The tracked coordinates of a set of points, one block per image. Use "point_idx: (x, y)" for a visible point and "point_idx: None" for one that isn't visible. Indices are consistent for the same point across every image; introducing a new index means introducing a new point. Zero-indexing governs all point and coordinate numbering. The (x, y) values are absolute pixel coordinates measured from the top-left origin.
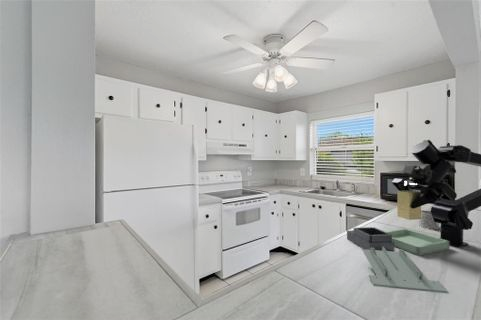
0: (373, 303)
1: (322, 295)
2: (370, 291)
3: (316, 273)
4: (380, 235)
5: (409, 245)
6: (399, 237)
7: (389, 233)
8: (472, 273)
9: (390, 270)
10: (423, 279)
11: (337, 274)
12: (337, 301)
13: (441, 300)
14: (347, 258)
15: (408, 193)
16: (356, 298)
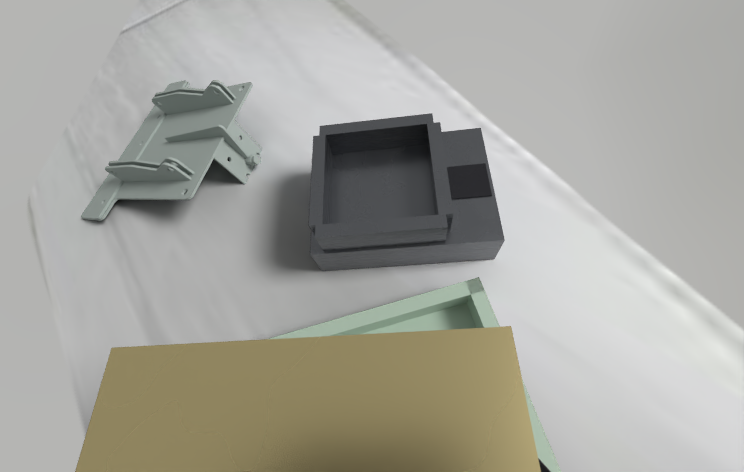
0: (130, 61)
1: (178, 4)
2: (157, 72)
3: (244, 10)
4: (313, 175)
5: (296, 333)
6: None
7: None
8: None
9: (172, 126)
10: (122, 187)
11: (229, 41)
12: (157, 18)
13: (77, 177)
14: (297, 88)
15: (150, 353)
16: (151, 44)
